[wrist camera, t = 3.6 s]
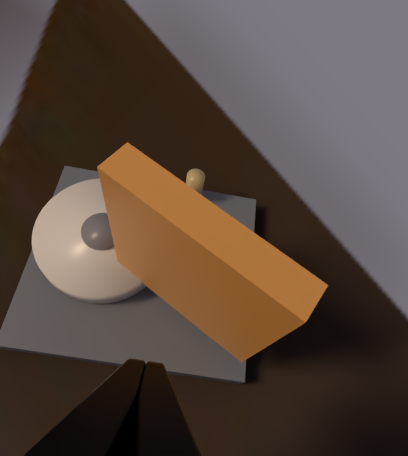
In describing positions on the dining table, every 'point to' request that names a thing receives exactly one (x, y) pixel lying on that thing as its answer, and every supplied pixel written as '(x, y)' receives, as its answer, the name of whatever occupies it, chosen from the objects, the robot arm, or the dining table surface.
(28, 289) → the panel
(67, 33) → the dining table surface
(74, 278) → the dial
